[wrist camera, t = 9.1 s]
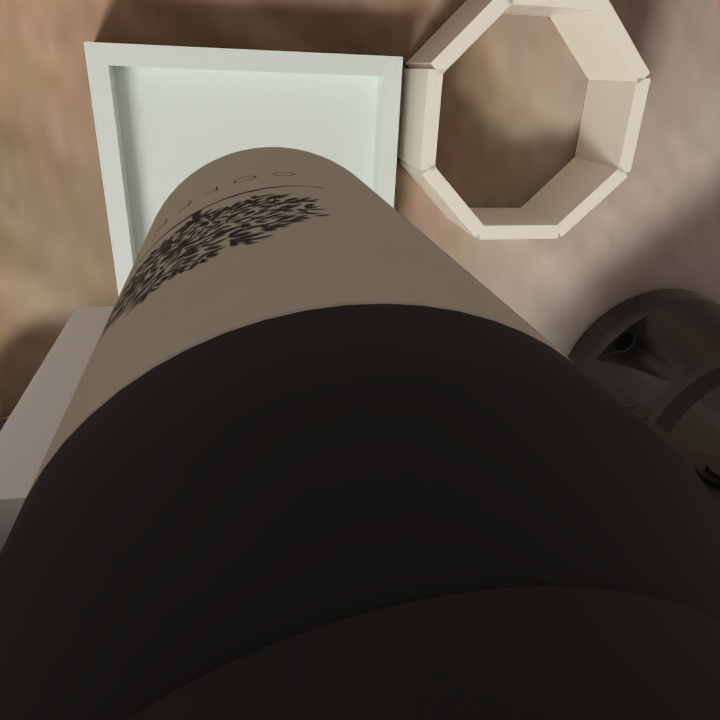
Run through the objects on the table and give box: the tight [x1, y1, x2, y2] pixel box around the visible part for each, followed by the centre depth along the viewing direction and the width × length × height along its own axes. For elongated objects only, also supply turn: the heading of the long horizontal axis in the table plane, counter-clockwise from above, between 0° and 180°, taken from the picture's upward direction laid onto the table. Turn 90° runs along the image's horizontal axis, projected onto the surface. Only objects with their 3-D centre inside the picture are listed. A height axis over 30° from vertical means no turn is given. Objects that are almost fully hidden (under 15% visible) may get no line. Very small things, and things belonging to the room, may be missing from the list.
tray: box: [84, 42, 403, 295], centre depth 35 cm, size 16×14×2 cm
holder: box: [398, 0, 651, 239], centre depth 35 cm, size 13×13×5 cm
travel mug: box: [0, 147, 720, 720], centre depth 11 cm, size 8×8×18 cm
